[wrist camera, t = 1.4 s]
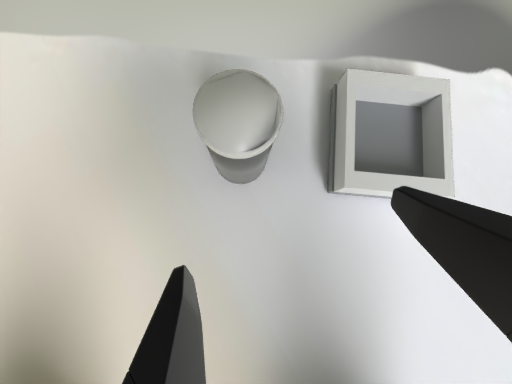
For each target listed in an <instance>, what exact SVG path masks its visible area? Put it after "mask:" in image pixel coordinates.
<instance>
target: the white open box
mask: <svg viewBox="0 0 512 384" xmlns="http://www.w3.org/2000/svg"><path fill="white" fill-rule="evenodd" d="M400 186H408V187H411V188H415V189H418V190H422V191H425V192H429V193H432V194H436V195H439V196H443V197H446V198H452V197H455V194H454V170H453V147H452V123H451V100H450V79H441V78H432V77H423V76H413V75H404V74H395V73H385V72H376V71H367V70H357V69H347V70H346V72H345V73H344V75H343V76H342V78H341V79H340V81H339V83H338V84H335V85H334V87H333V89H332V95H331V123H330V151H329V178H328V193H334V194H345V195H356V196H368V197H379V198H391V199H392V194H393V190H394V189H395V188H398V187H400Z"/></svg>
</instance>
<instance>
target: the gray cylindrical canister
mask: <svg viewBox="0 0 512 384" xmlns="http://www.w3.org/2000/svg"><path fill="white" fill-rule="evenodd" d="M193 118H194V123H195V126H196V128H197V130H198V132H199V134H200V136H201V138H202V140H203V141H204V143H205V144H206V146H207V148H208V150H209V152H210V154H211V157H212V159H213V161H214V163H215V165H216V167H217V170H218V171H219V173H220V174H221V175H222V177H224V178H225V179H226V180H228V181H230V182H232V183H236V184H245V183H249V182H251V181H253V180H255V179H256V178H257V177H259V176H260V174H261V173H262V171H263V170H264V167H265V164H266V161H267V158H268V155H269V152H270V150H271V147H272V144H273V141H274V140H275V138H276V136H277V134H278V131H279V129H280V126H281V123H282V118H283V107H282V102H281V99H280V96H279V94H278V92H277V91H276V89H275V88H274V86H273V85H272V84H271V83H270V82H269V81H268V80H266V79H265V78H264V77H262V76H260V75H258V74H256V73H254V72H251V71H247V70H227V71H224V72H221V73H218V74H216V75H214V76H213V77H211V78H210V79H208V80H207V81H206V82H205V83H204V84H203V85H202V86H201V88H200V89H199V91H198V93H197V95H196V97H195V100H194V104H193Z"/></svg>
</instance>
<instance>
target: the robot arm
mask: <svg viewBox="0 0 512 384" xmlns="http://www.w3.org/2000/svg"><path fill="white" fill-rule="evenodd" d="M391 206H392V208H393V210H394V211H395V212H396V214H397V215H398V216H399V218H400V219H401V220H402V222H403V223H404V224H405V226H406V227H407V228H408V230H409V231H410V232H411V234H412V235H413V236H414V237H415V238H416V240H417V241H418V242H419V243H420V244H421V245H422V246H423V247H424V248H425V249H426V250H427V252H428V253H429V254H430V255H431V256H432V257H433V258H434V259H435V260H436V261H437V262H438V263H439V264H440V266H441V267H442V268H443V269H444V270H445V271H446V272H447V273H448V274H449V275H450V276H451V277H452V278H453V280H454V281H455V282H456V283H457V284H458V285H459V286H460V287H461V288H462V289H463V290H464V291H465V292H466V294H467V295H468V296H469V297H470V298H471V299H472V300H473V301H474V302H475V303H476V304H477V305H478V306H479V308H480V309H481V310H482V311H483V312H484V313H485V314H486V315H487V316H488V317H489V318H490V319H491V321H492V322H493V323H494V324H495V325H496V326H497V327H498V328H499V329H500V330H501V331H502V332H503V333H504V335H506V336H507V338H508V339H509V340H510V341H511V342H512V216H509V215H506V214H502V213H499V212H495V211H492V210H488V209H485V208H481V207H478V206H474V205H471V204H467V203H464V202H460V201H457V200H453V199H450V198H446V197H443V196H439V195H436V194H432V193H429V192H425V191H422V190H418V189H415V188H411V187H408V186H400V187H398V188H395V189H394V190H393V194H392V199H391ZM122 384H206V377H205V362H204V348H203V334H202V322H201V315H200V309H199V304H198V299H197V293H196V288H195V283H194V279H193V276H192V275H191V273H190V272H189V270H188V269H187V267H186V266H185V265H182V266H179V267H176V268H174V269H173V271H172V273H171V276H170V278H169V280H168V282H167V285H166V287H165V289H164V291H163V294H162V296H161V298H160V300H159V303H158V305H157V307H156V309H155V311H154V314H153V316H152V318H151V320H150V323H149V325H148V327H147V329H146V332H145V334H144V336H143V338H142V340H141V343H140V345H139V347H138V349H137V352H136V354H135V356H134V358H133V361H132V363H131V365H130V367H129V371H128V372H127V374H126V376H125V378H124V380H123V383H122Z"/></svg>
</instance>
